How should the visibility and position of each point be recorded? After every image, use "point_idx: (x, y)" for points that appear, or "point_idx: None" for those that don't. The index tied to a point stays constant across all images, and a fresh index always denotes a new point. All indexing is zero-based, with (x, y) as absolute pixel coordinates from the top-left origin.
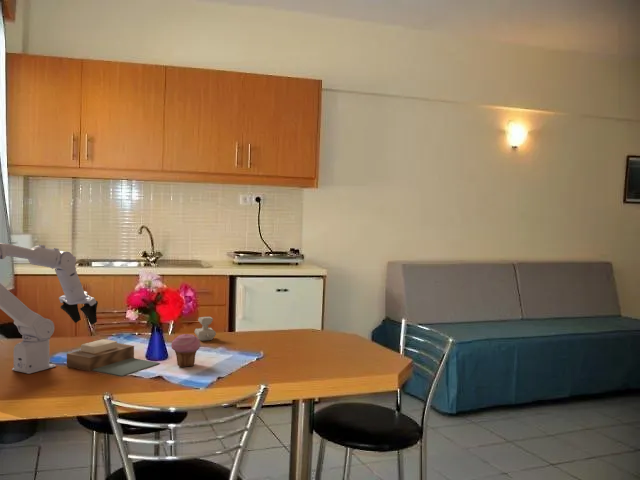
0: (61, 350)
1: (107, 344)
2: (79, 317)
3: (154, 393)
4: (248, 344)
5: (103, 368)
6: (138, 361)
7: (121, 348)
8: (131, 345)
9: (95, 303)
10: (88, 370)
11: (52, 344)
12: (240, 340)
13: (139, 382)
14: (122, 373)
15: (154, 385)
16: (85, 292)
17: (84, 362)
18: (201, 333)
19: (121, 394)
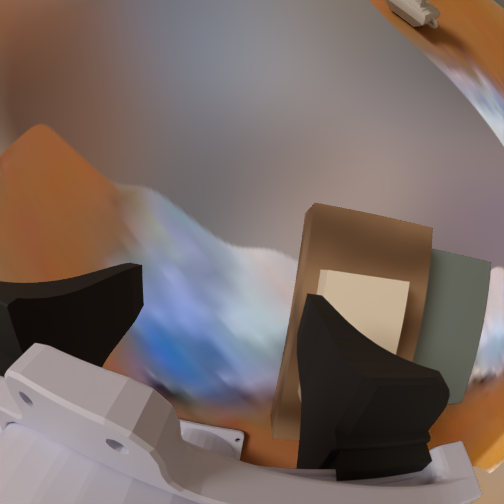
0: (99, 246)
1: (398, 337)
2: (132, 275)
3: None
4: (489, 53)
5: None
6: (448, 276)
7: (419, 285)
8: (422, 226)
9: (432, 418)
10: None
11: (39, 196)
12: (459, 25)
13: (495, 403)
14: (458, 391)
15: None
16: (115, 452)
17: None
18: (427, 20)
19: (481, 459)
